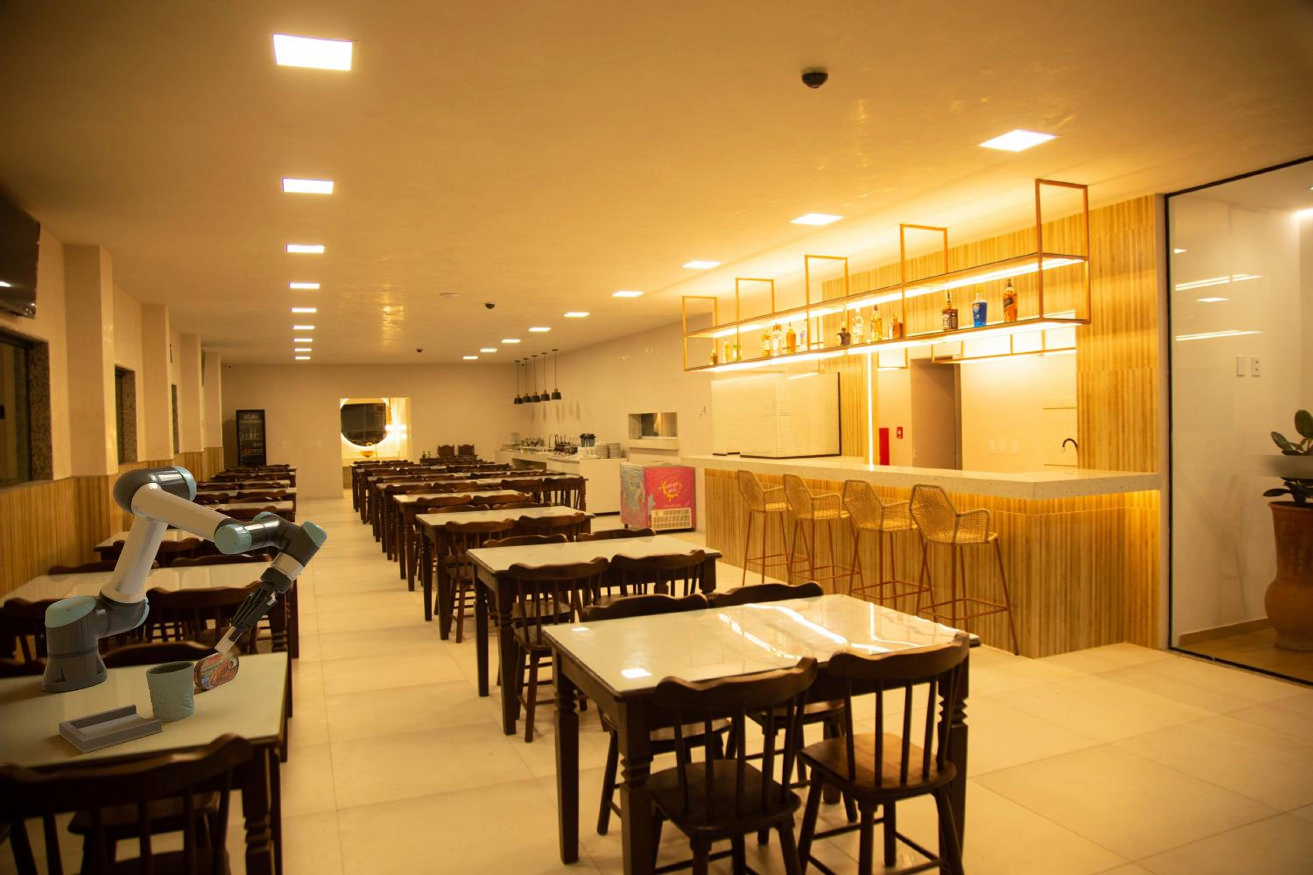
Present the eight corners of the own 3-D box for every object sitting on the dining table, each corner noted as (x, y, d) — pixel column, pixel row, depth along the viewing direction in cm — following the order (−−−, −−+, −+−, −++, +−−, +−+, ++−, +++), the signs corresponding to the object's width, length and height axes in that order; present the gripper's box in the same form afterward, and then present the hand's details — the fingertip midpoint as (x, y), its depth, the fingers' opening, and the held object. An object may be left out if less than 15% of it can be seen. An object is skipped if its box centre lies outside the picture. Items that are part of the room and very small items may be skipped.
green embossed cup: (206, 711, 209) (203, 663, 209) (167, 725, 200) (164, 675, 199) (178, 706, 213) (175, 659, 213) (139, 720, 204) (136, 671, 204)
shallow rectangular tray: (59, 734, 197) (58, 722, 197) (134, 714, 209) (133, 704, 209) (83, 753, 184) (82, 741, 184) (162, 731, 196) (161, 720, 196)
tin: (202, 693, 223) (200, 661, 223) (191, 693, 224) (189, 661, 224) (240, 675, 238) (239, 646, 238) (231, 675, 239) (229, 645, 239)
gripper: (303, 584, 224) (242, 663, 212) (280, 579, 232) (220, 655, 220) (281, 567, 220) (218, 647, 208) (259, 563, 228) (197, 639, 216)
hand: (219, 651), depth 214 cm, fingers closed
